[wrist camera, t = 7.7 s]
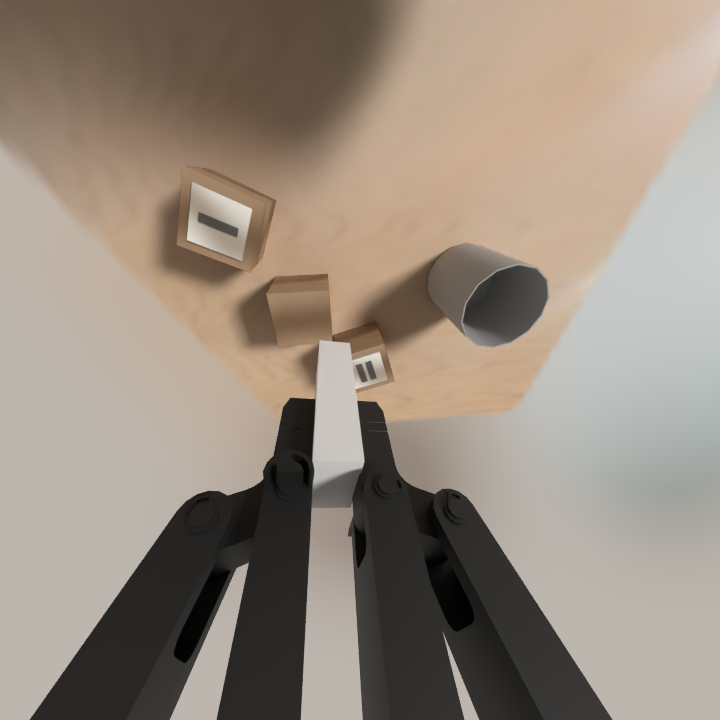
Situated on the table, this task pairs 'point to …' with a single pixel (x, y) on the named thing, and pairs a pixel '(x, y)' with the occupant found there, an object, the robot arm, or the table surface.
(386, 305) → the table surface
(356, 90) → the table surface
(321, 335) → the plain block
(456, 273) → the cup
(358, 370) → the numbered block
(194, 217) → the numbered block
